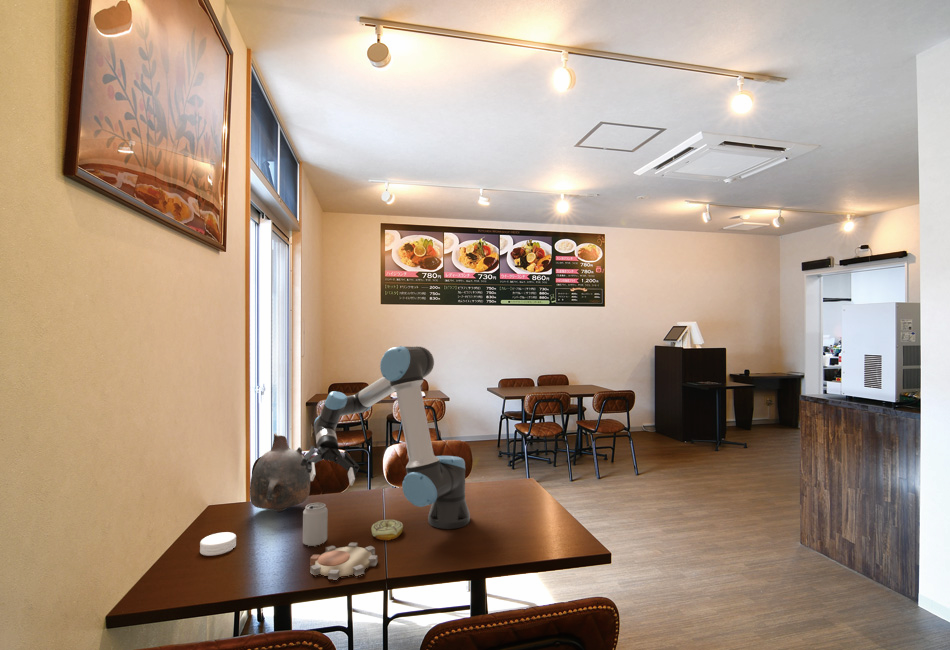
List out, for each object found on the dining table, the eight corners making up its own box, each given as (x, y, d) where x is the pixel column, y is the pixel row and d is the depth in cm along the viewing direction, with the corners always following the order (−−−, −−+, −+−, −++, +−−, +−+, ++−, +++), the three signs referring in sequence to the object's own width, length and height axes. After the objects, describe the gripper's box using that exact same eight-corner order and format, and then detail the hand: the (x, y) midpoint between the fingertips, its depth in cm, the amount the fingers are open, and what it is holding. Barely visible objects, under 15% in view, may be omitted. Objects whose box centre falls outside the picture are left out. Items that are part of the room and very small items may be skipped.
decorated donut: (368, 542, 148) (368, 530, 148) (373, 529, 159) (373, 518, 159) (401, 541, 149) (401, 529, 149) (403, 528, 160) (403, 517, 160)
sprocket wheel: (384, 549, 143) (384, 542, 143) (367, 581, 123) (367, 573, 123) (323, 548, 143) (323, 542, 143) (297, 580, 124) (297, 572, 124)
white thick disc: (202, 545, 146) (202, 534, 146) (237, 540, 150) (237, 529, 150) (197, 559, 137) (197, 547, 137) (234, 553, 141) (234, 541, 141)
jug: (317, 515, 171) (318, 434, 173) (255, 528, 159) (256, 441, 161) (301, 497, 192) (302, 425, 193) (244, 508, 179) (246, 431, 181)
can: (306, 538, 151) (306, 501, 152) (329, 537, 152) (329, 500, 152) (299, 548, 144) (300, 509, 144) (324, 547, 144) (324, 508, 145)
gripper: (355, 456, 178) (364, 492, 160) (289, 446, 166) (291, 485, 148) (362, 440, 177) (372, 475, 159) (296, 429, 165) (299, 466, 147)
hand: (333, 480), depth 154 cm, fingers open, 13 cm apart
